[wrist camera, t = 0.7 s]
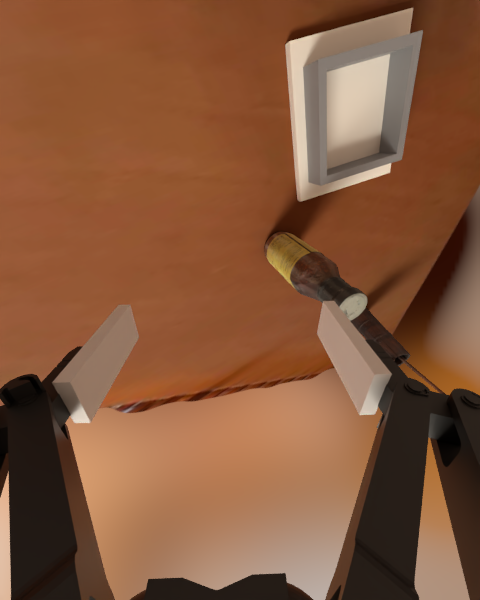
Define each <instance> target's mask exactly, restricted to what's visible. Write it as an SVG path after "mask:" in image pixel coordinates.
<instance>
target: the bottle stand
mask: <svg viewBox="0 0 480 600" xmlns="http://www.w3.org/2000/svg"><path fill="white" fill-rule="evenodd" d="M412 14H413V8H410V9H406V10H402V11H399V12H395V13H391V14H388V15H384V16H380V17H377V18H373V19H369V20H365V21H362V22H358V23H354V24H351V25H347V26H343V27H340V28H336V29H332V30H329V31H325V32H321V33H318V34H314V35H310V36H307V37H303V38H299V39H295V40H292V41H289V42H288V43H287V44H285V48H286V61H287V73H288V86H289V99H290V112H291V125H292V138H293V151H294V164H295V176H296V189H297V200H298V201H300V202H302V201H305V200H308V199H311V198H314V197H317V196H320V195H323V194H326V193H329V192H332V191H335V190H338V189H341V188H344V187H347V186H351V185H354V184H357V183H360V182H363V181H366V180H369V179H372V178H375V177H378V176H381V175H384V174H387V173H390V168H391V163H392V162H396V161H399V160H402V155H403V149H404V143H405V137H406V131H407V125H408V119H409V112H410V106H411V100H412V94H413V88H414V82H415V76H416V70H417V64H418V58H419V52H420V46H421V40H422V34H423V30H421V31H418V32H414V33H411V34H410V28H411V21H412Z"/></svg>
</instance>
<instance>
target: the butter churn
mask: <svg viewBox="0 0 480 600" xmlns="http://www.w3.org/2000/svg"><path fill="white" fill-rule="evenodd" d="M350 322H351V323H352V324H353V325H354V327H355V328H356V329H357V330H358V332H359V333H361V334H362V335H363V336H364V337H365V338H366V339H367V340H373V341H375V342H376V343H378V344H379V345H381V347H382V348H383V349H384V350H385V351H386V353H387V354H388V355H389V356H390V357H391V359H393V361H394V362H395V363H396V364H397V365H398V366H400V365H401V364H402V363H405V364H406V365H407V366H409V367H410V368H412V370H413V371H414V372H416V373H417V374H418V375H419V376H421V377H422V378H423V379H424V380H425V381H426V382H428V383H429V384H430V385H431V386H433V387H434V388H435V389H436V390H437V391H438V392H439V393H441V394H445V393H444V392H442V391H441V390H440V389H439V388H437V387H436V386H435V385H434V384H433V383H432V382H430V381H429V380H428V379H427V378H426V377H425V376H423V375H422V374H421V373H420V372H419V371H417V370H416V369H415V368H414V367H413V366H412V365H410V364H409V363H408V362H407V361H406V360H407V359H408V358H409V357H410V354H409V353H408V352H407V351H406V350H405V349H404V348H403V346H402V345H401V344H400V343H399V342H398V341H397V340H396V339H395V338H394V337H393V336H392V335H391V333H389V332H388V331H387V330H386V329H385V328H384V327H383V326H382V325H381V323H380V322H379V321H378V320H377V319H376V318H375V317H374V316H373V315H372V314H371V312H370V311H369V310H368V309H367V308H365V309H364V311H363V312H362V313H361V314H360V315H359V316H358V317H356V318H355V319H353V320H351V321H350ZM445 395H446V394H445Z"/></svg>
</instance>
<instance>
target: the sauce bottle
mask: <svg viewBox="0 0 480 600" xmlns="http://www.w3.org/2000/svg"><path fill="white" fill-rule="evenodd" d="M264 252H265V256H266V257H267V259H268V261H269V262H270V264H271V265H272V266H273V267H274V268H275V269H276V270H277V271H278V272H279V273H280V274H281V275H282V276H283V277H284V278H285V279H286V280H287V281H288V282H289V283H290V284H291V285H292V286H293V287H294V288H295V289H296V290H297V291H298V292H299V293H300V294H302V295H305V296H308V297H310V298H313V299H316V300H318V301H321V302H322V303H323V301H335V302H336V304H337V305H338V306H339V308H340V309H341V310H342V311H343V313H344V314H345V315H346V316H347V318H348V319H349V320H350V321H351V320H353V319H355V318H356V317H358V316H359V315H360V314H361V313H362V312H363V311H364V309H365V308H366V306H367V297H366V295H365V294H364V293H363V292H361V291H360V290H359V289H357V288H354V287H351V286H350V285H349V284H347V283H346V282H345V281H344V280H343V279H342V278H340V275H339V271H338V267H337V265H336V264H335V263H334V262H332V261H331V260H330V259H328V258H327V257H325V256H324V255H323V254H322V253H320V252H319V251H317V250H316V249H314V248H313V247H311V246H310V245H308V244H307V243H305V242H304V241H302V240H301V239H299V238H297V237H296V236H294V235H293V234H290V233H288V232H277V233H275V234H273V235H272V236H271V237H270V238H269V239H268V240H267V242H266V245H265V250H264Z"/></svg>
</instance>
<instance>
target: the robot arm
mask: <svg viewBox="0 0 480 600" xmlns="http://www.w3.org/2000/svg"><path fill="white" fill-rule="evenodd" d="M317 334H318V336H319V338H320V340H321V342H322V344H323V346H324V348H325V350H326V352H327V354H328V355H329V357H330V359H331V361H332V363H333V365H334V367H335V369H336V371H337V373H338V375H339V376H340V378H341V380H342V382H343V384H344V386H345V388H346V390H347V392H348V394H349V396H350V398H351V400H352V401H353V403H354V405H355V407H356V409H357V411H358V413H359V415H372V414H375V413H376V410H377V408H378V407H379V408H380V410H381V411H382V413H383V414H382V417H381V419H380V421H379V423H378V426H377V428H378V429H377V433H376V436H375V440H374V443H373V446H372V450H371V453H370V457H369V460H368V463H367V467H366V470H365V473H364V477H363V480H362V483H361V487H360V490H359V494H358V497H357V500H356V504H355V507H354V510H353V514H352V517H351V521H350V524H349V527H348V531H347V534H346V538H345V541H344V544H343V548H342V551H341V554H340V558H339V561H338V564H337V568H336V571H335V574H334V577H333V579H332V581H331V584H330V587H329V590H328V593H327V596H326V599H325V600H419V596H418V594H417V592H416V590H415V585H414V578H415V568H416V557H417V547H418V537H419V526H420V517H421V506H422V496H423V486H424V475H425V466H426V455H427V445H428V437H429V438H430V439H431V443H432V447H433V451H434V455H435V459H436V464H437V468H438V472H439V476H440V480H441V484H442V488H443V491H444V496H445V500H446V504H447V508H448V512H449V516H450V520H451V524H452V528H453V532H454V537H455V541H456V545H457V548H458V553H459V557H460V561H461V565H462V569H463V573H464V576H465V581H466V585H467V589H468V593H469V597H470V600H480V396H479V395H478V394H476V393H474V392H471V391H469V390H466V389H454V390H453V391H452V392H451V394H450V395H445V394H441V393H436V392H432V391H430V390H429V389H428V388H427V387H426V386H425V385H424V384H423V383H421V382H419V381H417V380H414V379H411V378H408V377H407V376H406V375H405V374H404V373H403V371H402V370H401V369H400V368H399V366H398V365H397V364H396V363H395V362H394V361H393V359H391V357H390V356H389V355H388V354H387V353H386V351H385V350H384V349H383V348H382V347H381V345H379V344H378V343H376V342H375V341H373V340H365V339H364V338H363V337H362V336H361V334H360V333H359V332H358V330H357V329H356V328H355V327H354V325H353V324H352V323H351V322H350V320H349V319H348V318H347V316H346V315H345V314H344V313H343V311H342V310H341V309H340V308H339V306H338V305H337V304H336V302H335V301H323V305H322V310H321V315H320V320H319V326H318V331H317ZM138 338H139V335H138V332H137V328H136V324H135V321H134V317H133V313H132V309H131V306H130V305H118V306H117V308H116V309H115V310H114V311H113V312H112V313H111V315H110V316H109V317H108V318H107V319H106V320H105V322H104V323H103V324H102V325H101V326H100V327H99V329H98V330H97V331H96V332H95V333H94V334H93V336H92V337H91V338H90V339H89V340H88V341H87V342H86V344H85V345H84V346H82V347H76V348H75V349H74V350H72V351H71V352H69V353H68V354H67V355H66V356H65V357H64V358H63V359H62V361H61V362H60V363H59V364H58V365H57V367H55V368H54V369H53V370H52V372H51V373H50V374H49V375H48V376H47V377H46V378H45V379H44V380H43V381H42V383H41V381H40V379H39V378H38V376H37V375H34V374H27V375H23V376H20V377H17V378H15V379H13V380H11V381H9V382H8V383H6V384H5V385H4V386H3V387H2V388H1V389H0V399H1V400H2V402H3V403H4V404H5V405H3V406H0V497H1V493H2V490H3V487H4V483H5V480H6V476H7V473H8V470H9V505H10V506H9V511H10V554H11V555H10V558H11V600H115V599H114V596H113V593H112V591H111V589H110V586H109V585H108V581H107V579H106V575H105V572H104V568H103V564H102V560H101V556H100V552H99V548H98V545H97V541H96V536H95V533H94V529H93V525H92V521H91V517H90V513H89V509H88V505H87V501H86V497H85V494H84V490H83V486H82V482H81V478H80V474H79V470H78V466H77V462H76V459H75V455H74V451H73V447H72V443H71V439H70V435H69V431H68V428H67V425H66V424H65V422H66V421H67V419H68V418H69V416H71V418H72V419H73V421H74V423H90V422H91V421H92V419H93V417H94V416H95V414H96V412H97V410H98V409H99V407H100V405H101V403H102V402H103V400H104V398H105V396H106V395H107V393H108V391H109V389H110V388H111V386H112V384H113V382H114V380H115V379H116V377H117V375H118V373H119V372H120V370H121V368H122V366H123V365H124V363H125V361H126V359H127V358H128V356H129V354H130V352H131V351H132V349H133V347H134V345H135V343H136V342H137V340H138ZM130 600H313V599H312V598H311V597H310V596H309V595H307V594H306V593H305V592H303V591H302V590H301V589H299V588H297V587H295V586H294V585H291V584H289V583H287V582H286V574H285V573H283V574H259V575H251V576H248V577H246V578H244V579H242V580H240V581H238V582H235V583H233V584H231V585H229V586H227V587H224V588H222V589H220V590H213V589H210V588H208V587H205V586H202V585H200V584H197V583H195V582H192V581H189V580H187V579H184V578H165V579H148V583H147V588H146V590H144V591H142V592H141V593H139V594H137V595H136V596H134V597H133V598H131V599H130Z"/></svg>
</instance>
